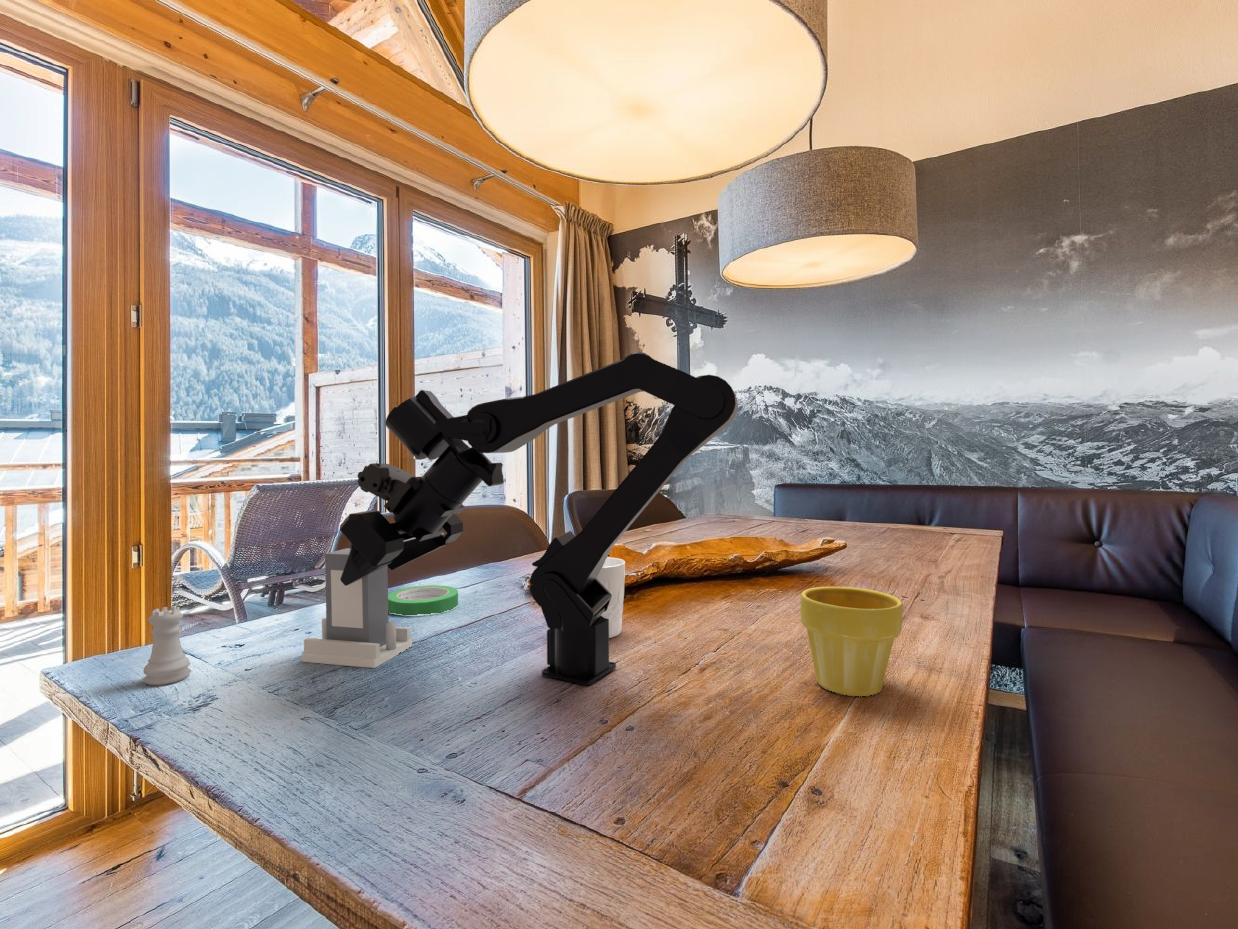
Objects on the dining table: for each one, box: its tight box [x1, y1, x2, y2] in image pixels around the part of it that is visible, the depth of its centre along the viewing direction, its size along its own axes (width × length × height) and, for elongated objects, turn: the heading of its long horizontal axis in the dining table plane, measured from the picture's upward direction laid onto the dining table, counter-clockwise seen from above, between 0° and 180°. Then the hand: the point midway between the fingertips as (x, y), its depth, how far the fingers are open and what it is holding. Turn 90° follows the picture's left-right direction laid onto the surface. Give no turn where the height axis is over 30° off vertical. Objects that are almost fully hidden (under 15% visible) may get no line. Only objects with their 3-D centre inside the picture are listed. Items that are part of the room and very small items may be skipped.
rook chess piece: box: [142, 605, 192, 687], centre depth 69 cm, size 4×4×8 cm
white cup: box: [596, 556, 626, 639], centre depth 86 cm, size 8×8×10 cm
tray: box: [301, 617, 413, 669], centre depth 77 cm, size 10×8×4 cm
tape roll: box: [388, 584, 459, 615], centre depth 100 cm, size 11×11×3 cm
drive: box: [324, 547, 389, 647], centre depth 77 cm, size 6×4×12 cm, turn 76°
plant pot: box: [800, 586, 904, 698], centre depth 67 cm, size 10×10×10 cm
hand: (367, 574), depth 77 cm, fingers open, 9 cm apart
